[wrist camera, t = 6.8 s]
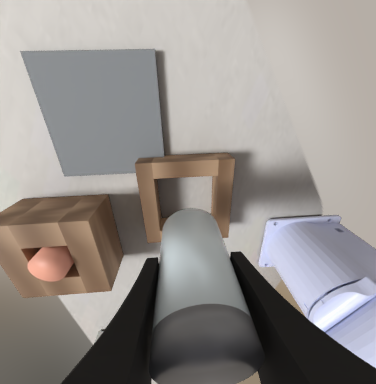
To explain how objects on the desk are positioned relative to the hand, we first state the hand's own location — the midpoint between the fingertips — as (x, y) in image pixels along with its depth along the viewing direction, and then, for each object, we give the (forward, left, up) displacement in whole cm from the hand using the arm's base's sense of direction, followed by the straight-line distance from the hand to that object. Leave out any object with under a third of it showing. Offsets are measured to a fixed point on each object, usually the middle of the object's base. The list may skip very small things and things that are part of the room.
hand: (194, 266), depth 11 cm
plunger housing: (+13, +4, -10) cm, 17 cm away
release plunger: (+13, +4, -9) cm, 17 cm away
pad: (+7, -8, -10) cm, 15 cm away
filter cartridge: (0, 0, -3) cm, 3 cm away
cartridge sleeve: (0, 0, -10) cm, 10 cm away
